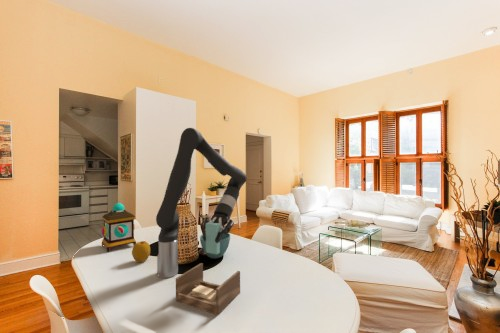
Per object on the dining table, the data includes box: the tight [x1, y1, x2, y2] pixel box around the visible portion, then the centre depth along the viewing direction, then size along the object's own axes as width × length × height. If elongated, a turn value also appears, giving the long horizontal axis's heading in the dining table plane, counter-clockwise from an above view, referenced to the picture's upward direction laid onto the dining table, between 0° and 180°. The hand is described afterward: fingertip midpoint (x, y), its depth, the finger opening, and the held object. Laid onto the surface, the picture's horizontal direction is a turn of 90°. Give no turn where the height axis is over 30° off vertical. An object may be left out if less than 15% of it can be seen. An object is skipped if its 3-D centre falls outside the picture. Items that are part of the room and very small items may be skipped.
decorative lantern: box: [101, 202, 137, 253], centre depth 162 cm, size 20×20×30 cm
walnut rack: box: [175, 262, 241, 316], centre depth 95 cm, size 20×16×10 cm
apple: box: [131, 240, 151, 263], centre depth 135 cm, size 10×10×12 cm
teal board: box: [206, 222, 220, 254], centre depth 97 cm, size 6×2×12 cm, turn 64°
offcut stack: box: [192, 285, 216, 303], centre depth 91 cm, size 9×5×4 cm, turn 64°
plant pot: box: [199, 232, 231, 259], centre depth 142 cm, size 18×18×12 cm
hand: (210, 241), depth 96 cm, fingers closed on teal board, 5 cm apart
